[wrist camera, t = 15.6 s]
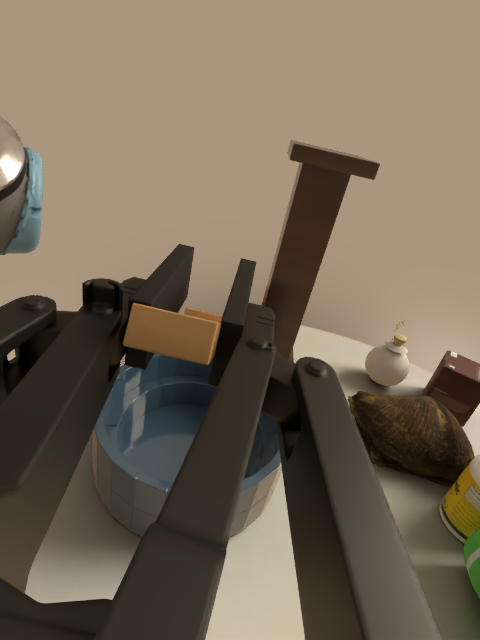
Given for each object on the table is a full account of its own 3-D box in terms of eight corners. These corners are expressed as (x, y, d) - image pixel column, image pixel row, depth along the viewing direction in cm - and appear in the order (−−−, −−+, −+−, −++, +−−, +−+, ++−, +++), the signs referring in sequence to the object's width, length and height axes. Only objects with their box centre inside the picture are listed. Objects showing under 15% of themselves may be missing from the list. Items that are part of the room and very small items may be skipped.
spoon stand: (291, 403, 46) (380, 163, 32) (231, 389, 46) (293, 143, 32) (290, 352, 56) (355, 155, 42) (241, 340, 56) (290, 140, 42)
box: (462, 429, 48) (492, 388, 45) (418, 405, 51) (442, 365, 47) (466, 407, 53) (492, 368, 49) (424, 386, 55) (447, 348, 52)
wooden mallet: (244, 373, 10) (259, 309, 10) (85, 337, 10) (101, 272, 10) (238, 342, 31) (243, 322, 31) (189, 331, 31) (193, 310, 31)
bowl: (61, 437, 34) (57, 381, 31) (202, 378, 46) (210, 333, 43) (161, 605, 24) (173, 551, 21) (308, 475, 36) (330, 427, 33)
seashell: (459, 435, 46) (494, 405, 42) (478, 505, 40) (522, 479, 35) (337, 398, 47) (358, 365, 42) (335, 461, 40) (360, 430, 36)
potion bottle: (360, 385, 52) (387, 328, 47) (358, 359, 58) (382, 306, 54) (401, 399, 51) (433, 342, 46) (395, 371, 58) (422, 318, 53)
